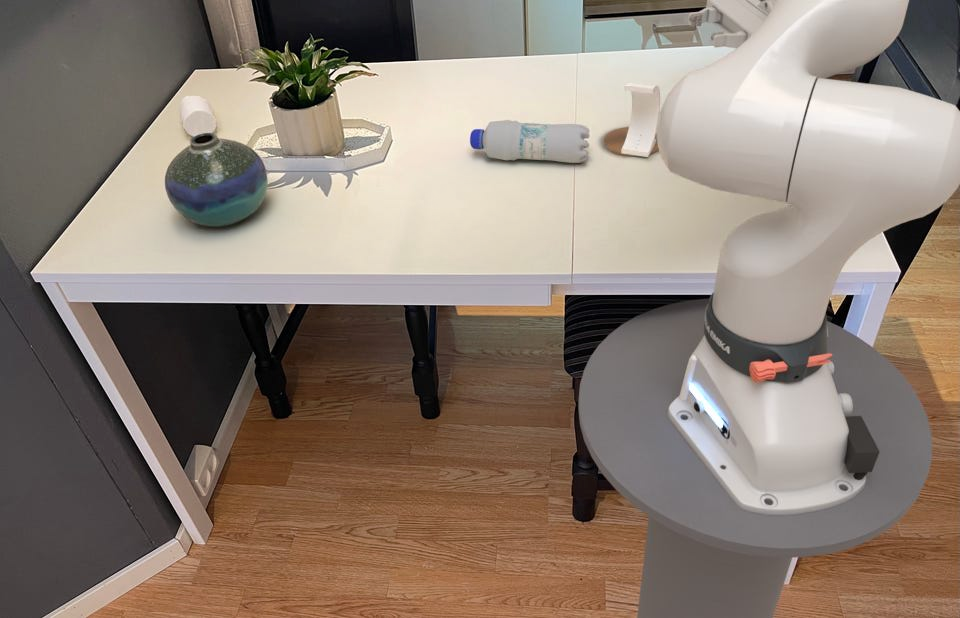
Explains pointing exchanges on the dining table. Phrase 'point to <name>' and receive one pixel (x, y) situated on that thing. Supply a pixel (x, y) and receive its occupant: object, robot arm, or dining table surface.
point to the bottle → (532, 141)
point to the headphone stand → (642, 119)
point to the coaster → (621, 141)
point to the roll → (196, 115)
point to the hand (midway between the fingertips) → (700, 30)
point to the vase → (216, 181)
